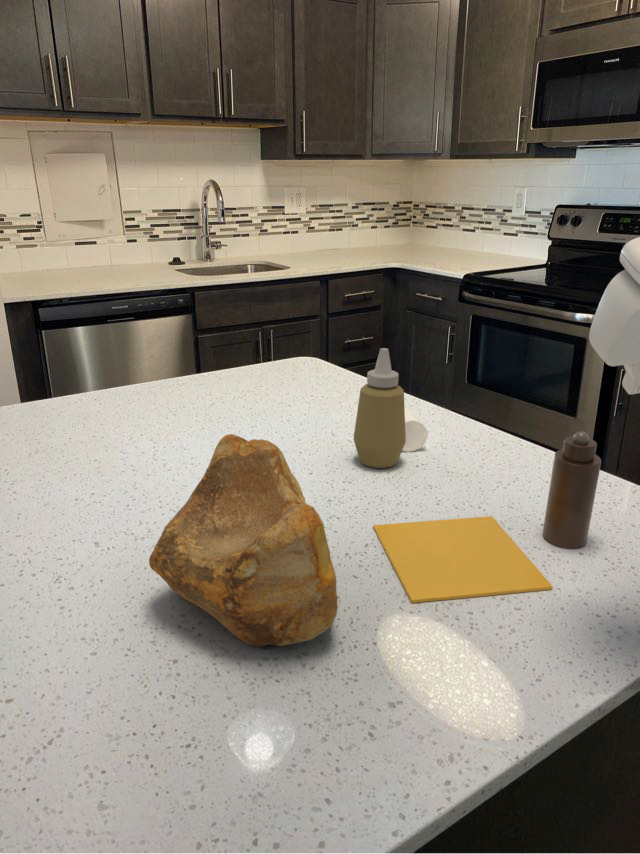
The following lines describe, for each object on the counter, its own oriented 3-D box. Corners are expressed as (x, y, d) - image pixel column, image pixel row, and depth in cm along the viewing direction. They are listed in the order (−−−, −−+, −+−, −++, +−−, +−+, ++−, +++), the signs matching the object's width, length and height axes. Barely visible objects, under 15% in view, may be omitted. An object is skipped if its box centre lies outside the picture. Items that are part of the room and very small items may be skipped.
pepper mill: (572, 526, 85) (590, 423, 80) (594, 547, 81) (615, 439, 76) (534, 529, 85) (550, 425, 79) (555, 550, 80) (573, 441, 75)
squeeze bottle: (360, 474, 99) (365, 357, 93) (346, 453, 106) (350, 343, 100) (411, 470, 101) (419, 355, 94) (395, 449, 108) (401, 341, 102)
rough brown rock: (145, 559, 78) (123, 445, 72) (280, 525, 83) (269, 415, 77) (180, 703, 58) (153, 562, 52) (354, 647, 63) (349, 512, 57)
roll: (405, 424, 119) (407, 395, 117) (427, 450, 108) (429, 418, 106) (372, 426, 118) (374, 396, 116) (391, 452, 107) (393, 420, 105)
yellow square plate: (491, 518, 87) (491, 515, 87) (552, 589, 72) (552, 586, 72) (373, 527, 84) (373, 525, 84) (411, 603, 69) (411, 600, 69)
